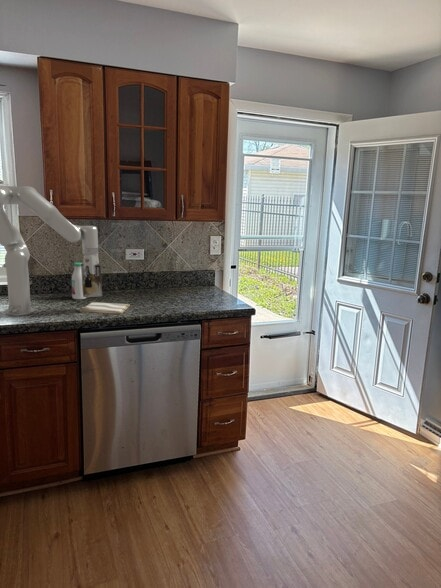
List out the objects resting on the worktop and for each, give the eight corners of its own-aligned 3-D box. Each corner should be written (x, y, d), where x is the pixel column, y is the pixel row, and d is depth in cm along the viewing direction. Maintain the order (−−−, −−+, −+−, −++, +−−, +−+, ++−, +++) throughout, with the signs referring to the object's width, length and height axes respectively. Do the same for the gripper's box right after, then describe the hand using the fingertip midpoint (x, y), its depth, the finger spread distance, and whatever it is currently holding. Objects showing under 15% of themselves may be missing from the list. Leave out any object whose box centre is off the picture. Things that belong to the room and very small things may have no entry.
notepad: (120, 314, 210) (120, 312, 210) (79, 311, 211) (79, 309, 211) (130, 305, 227) (130, 303, 226) (91, 303, 228) (91, 301, 227)
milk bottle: (88, 296, 241) (87, 262, 237) (84, 300, 234) (83, 264, 229) (74, 296, 241) (73, 261, 236) (70, 299, 233) (69, 263, 229)
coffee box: (100, 293, 218) (99, 263, 215) (102, 296, 212) (101, 265, 209) (82, 294, 215) (80, 263, 211) (83, 297, 209) (81, 265, 205)
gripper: (91, 253, 200) (92, 289, 204) (103, 249, 217) (104, 282, 221) (76, 253, 200) (77, 288, 204) (89, 248, 217) (90, 281, 221)
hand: (91, 285), depth 212 cm, fingers closed on coffee box, 8 cm apart
